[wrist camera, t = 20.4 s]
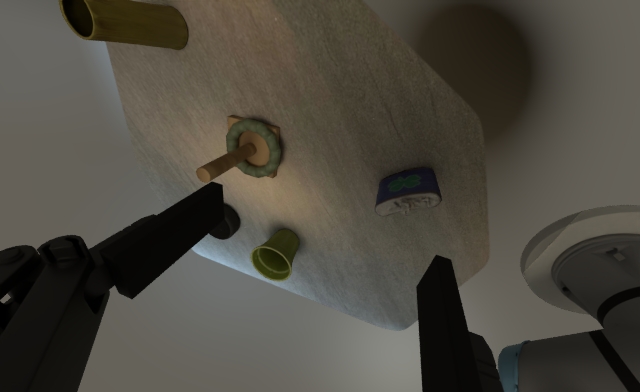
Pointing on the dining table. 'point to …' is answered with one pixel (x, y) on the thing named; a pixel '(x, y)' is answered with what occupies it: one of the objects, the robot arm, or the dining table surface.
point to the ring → (266, 135)
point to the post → (240, 153)
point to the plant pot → (276, 255)
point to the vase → (126, 22)
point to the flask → (408, 191)
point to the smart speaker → (226, 225)
